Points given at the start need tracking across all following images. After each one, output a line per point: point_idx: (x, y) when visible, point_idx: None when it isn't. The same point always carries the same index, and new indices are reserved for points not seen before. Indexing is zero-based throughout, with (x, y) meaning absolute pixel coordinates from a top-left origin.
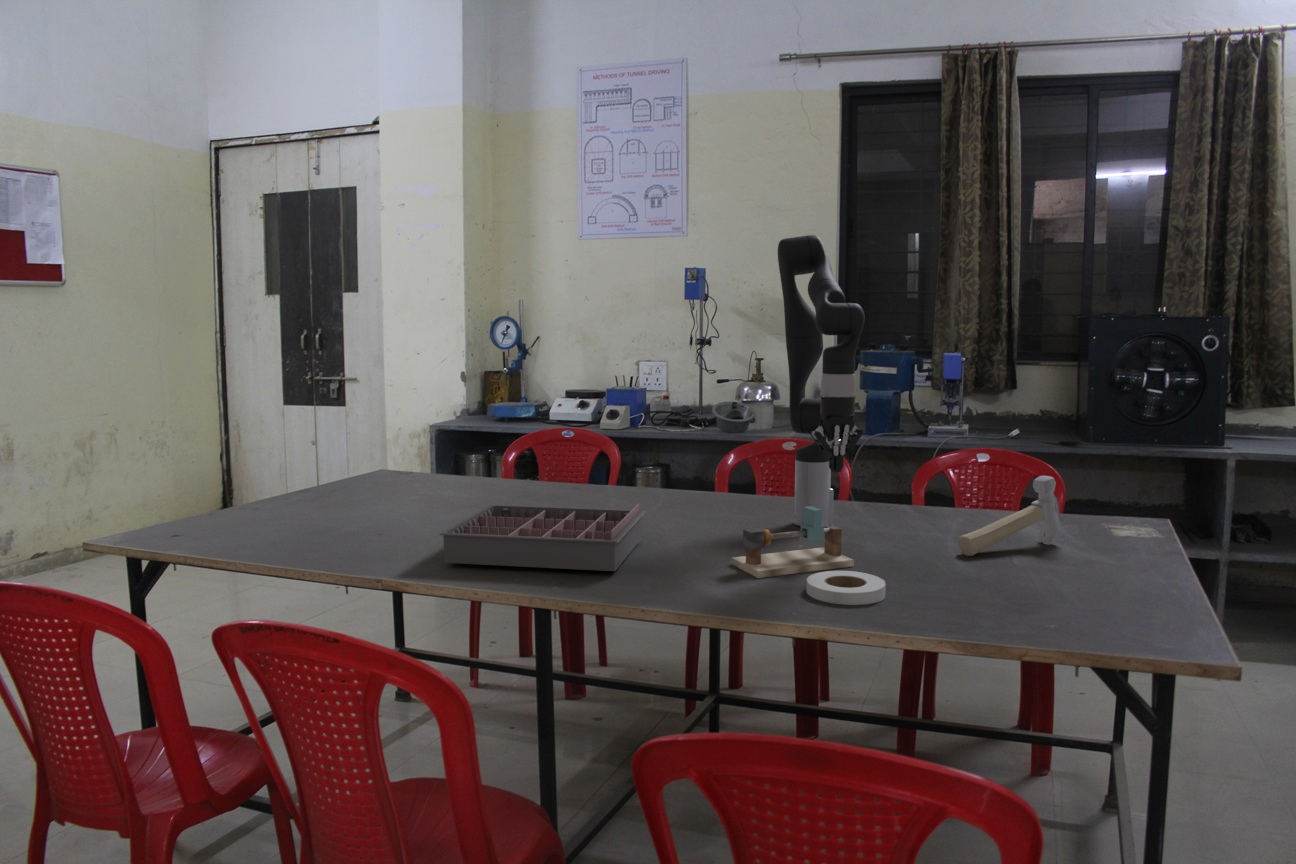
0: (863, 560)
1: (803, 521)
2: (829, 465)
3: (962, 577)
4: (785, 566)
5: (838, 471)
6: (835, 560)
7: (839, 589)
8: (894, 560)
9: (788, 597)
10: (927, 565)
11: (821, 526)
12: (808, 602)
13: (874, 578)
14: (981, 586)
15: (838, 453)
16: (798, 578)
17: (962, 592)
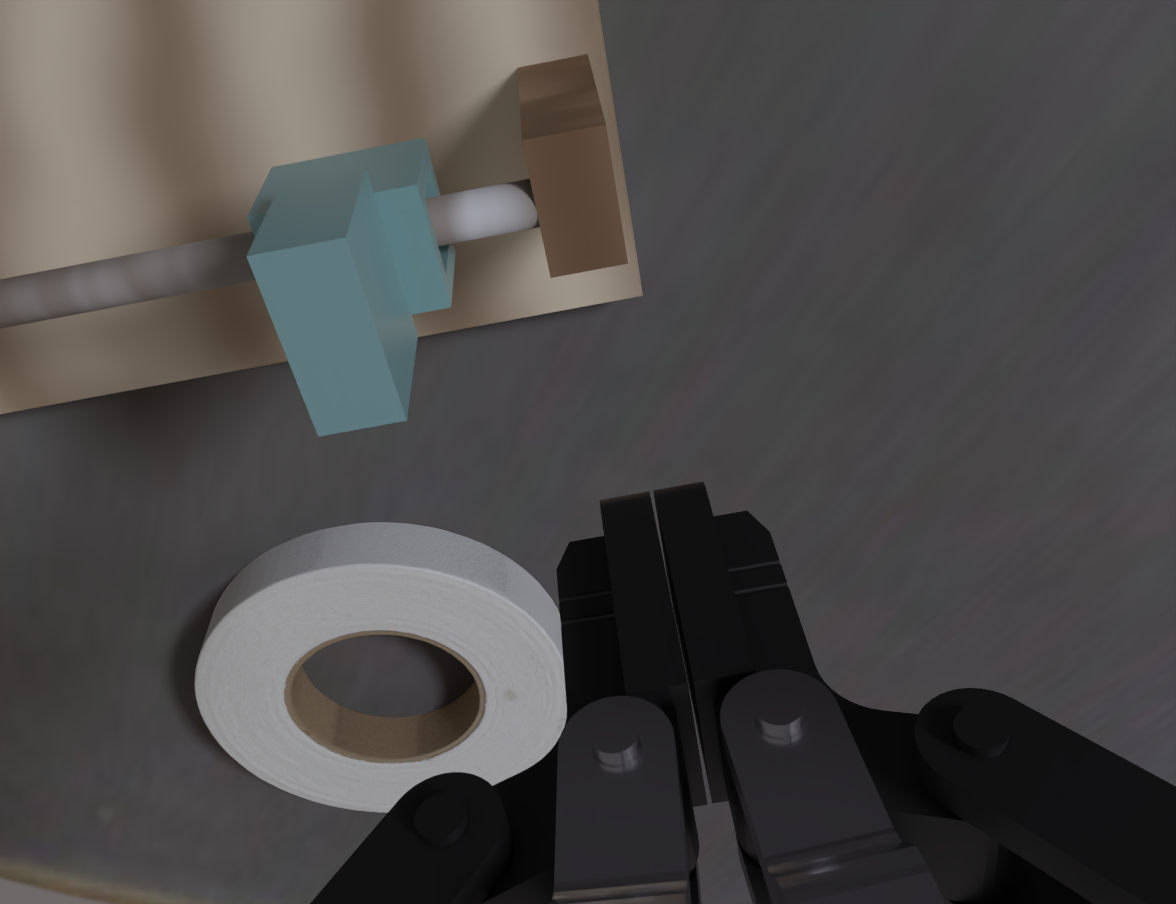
0: (778, 149)
1: (278, 195)
2: (560, 597)
3: (1064, 547)
4: (133, 364)
5: (670, 591)
6: (512, 294)
7: (319, 776)
8: (977, 192)
9: (107, 676)
10: (1079, 335)
11: (415, 338)
12: (188, 732)
13: (539, 690)
14: (1027, 658)
15: (730, 802)
16: (212, 440)
17: (888, 706)
